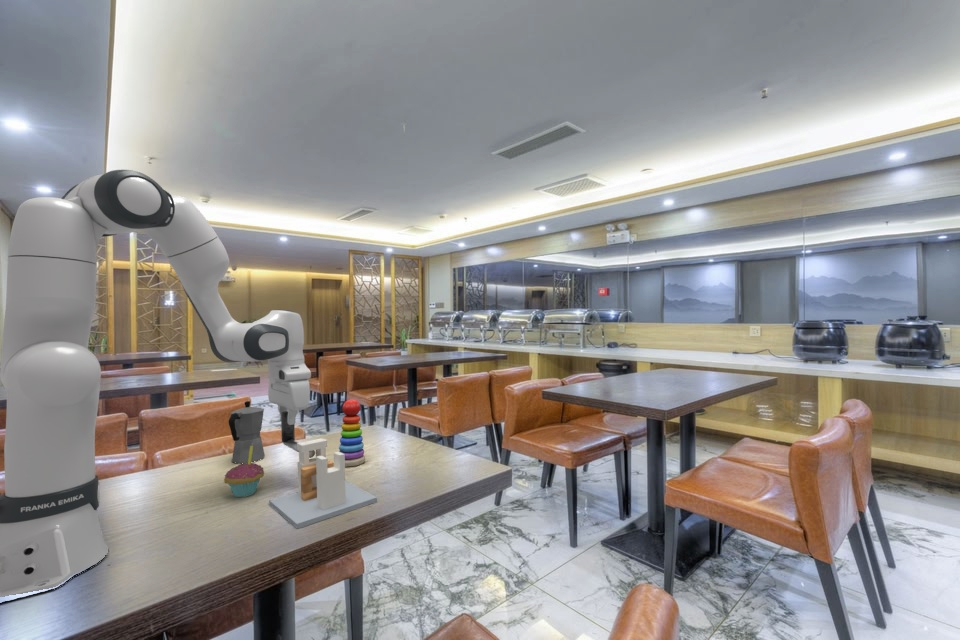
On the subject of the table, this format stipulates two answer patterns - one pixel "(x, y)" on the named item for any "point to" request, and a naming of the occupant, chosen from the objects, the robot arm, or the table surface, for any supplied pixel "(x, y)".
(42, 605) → the table surface
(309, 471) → the collar
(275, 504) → the stand
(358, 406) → the stacking toy
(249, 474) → the cupcake
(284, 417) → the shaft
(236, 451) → the coffeepot
